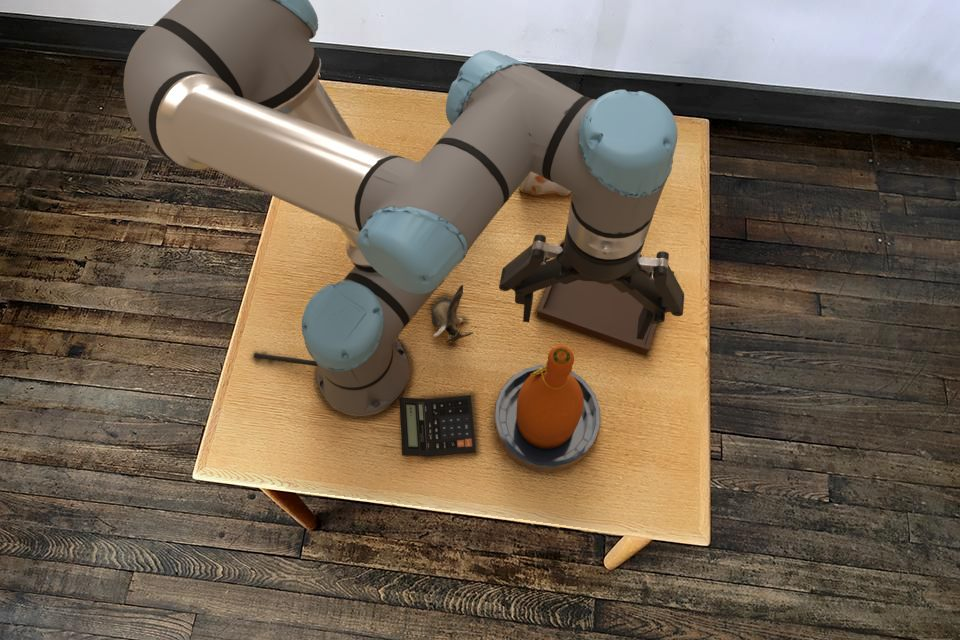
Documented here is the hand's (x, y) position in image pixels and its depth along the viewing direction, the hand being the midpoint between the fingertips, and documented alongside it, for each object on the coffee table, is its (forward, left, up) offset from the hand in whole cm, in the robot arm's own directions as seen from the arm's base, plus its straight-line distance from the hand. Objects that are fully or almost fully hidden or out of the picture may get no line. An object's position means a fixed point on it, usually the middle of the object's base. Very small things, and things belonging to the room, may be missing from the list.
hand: (583, 320), depth 90 cm
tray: (+1, +22, -36) cm, 42 cm away
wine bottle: (-1, -3, -35) cm, 35 cm away
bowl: (-1, -3, -36) cm, 36 cm away
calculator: (-17, -10, -36) cm, 41 cm away
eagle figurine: (-22, +8, -36) cm, 43 cm away
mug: (-16, +40, -36) cm, 56 cm away
